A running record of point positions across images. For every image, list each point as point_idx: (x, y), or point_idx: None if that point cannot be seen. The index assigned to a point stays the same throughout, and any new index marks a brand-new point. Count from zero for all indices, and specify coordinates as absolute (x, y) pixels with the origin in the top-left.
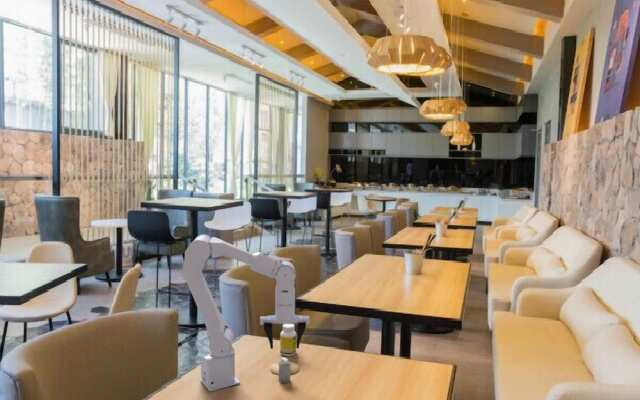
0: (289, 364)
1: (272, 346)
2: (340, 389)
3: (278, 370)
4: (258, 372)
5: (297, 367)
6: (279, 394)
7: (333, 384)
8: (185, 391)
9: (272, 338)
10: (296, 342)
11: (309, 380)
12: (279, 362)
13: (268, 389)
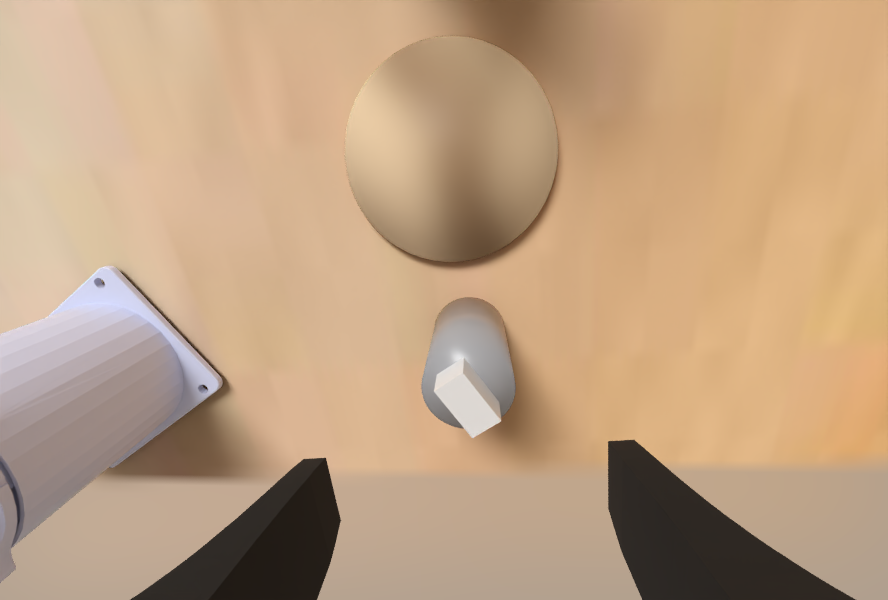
0: (510, 404)
1: (329, 551)
2: (810, 413)
3: (411, 208)
4: (283, 228)
5: (546, 144)
6: (460, 472)
7: (779, 358)
8: None
9: (282, 573)
10: (623, 471)
11: (628, 316)
12: (425, 383)
13: (394, 428)
